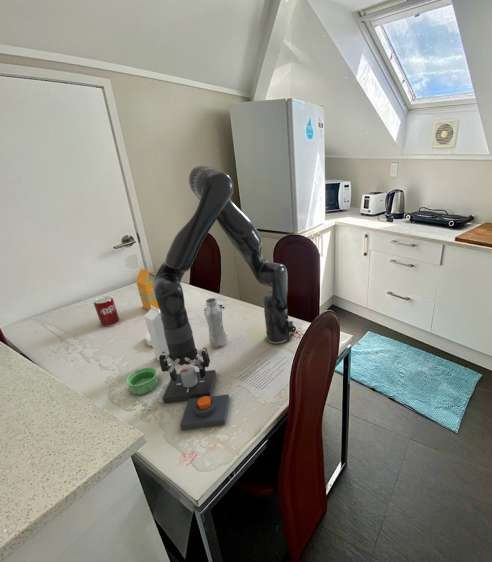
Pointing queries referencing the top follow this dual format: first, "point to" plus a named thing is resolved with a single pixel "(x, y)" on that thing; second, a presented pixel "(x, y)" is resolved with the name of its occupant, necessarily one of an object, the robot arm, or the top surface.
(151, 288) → the orange juice
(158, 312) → the milk
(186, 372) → the brew dial
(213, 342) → the plastic bottle
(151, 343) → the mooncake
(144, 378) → the ramekin
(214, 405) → the button block
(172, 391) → the brew base
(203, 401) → the power button
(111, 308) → the soda can
